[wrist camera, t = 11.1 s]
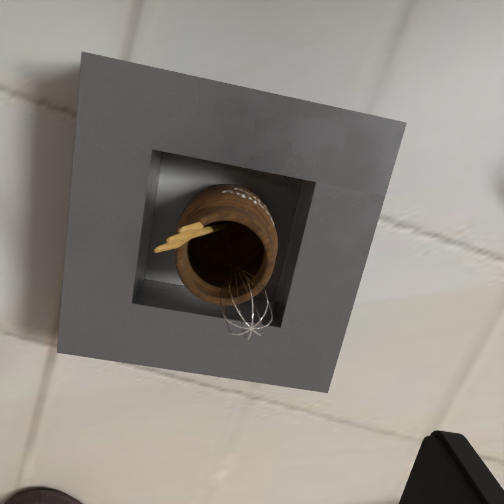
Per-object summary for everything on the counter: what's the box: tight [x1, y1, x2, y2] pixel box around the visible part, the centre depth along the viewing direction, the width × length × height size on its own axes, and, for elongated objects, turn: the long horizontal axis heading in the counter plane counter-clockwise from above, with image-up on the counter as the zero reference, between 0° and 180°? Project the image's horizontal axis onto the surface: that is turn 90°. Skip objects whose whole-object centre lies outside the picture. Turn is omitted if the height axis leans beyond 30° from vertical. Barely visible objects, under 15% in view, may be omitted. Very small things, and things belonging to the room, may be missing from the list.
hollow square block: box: [57, 52, 406, 393], centre depth 27 cm, size 17×17×4 cm
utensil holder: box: [154, 184, 278, 340], centre depth 23 cm, size 6×6×12 cm
